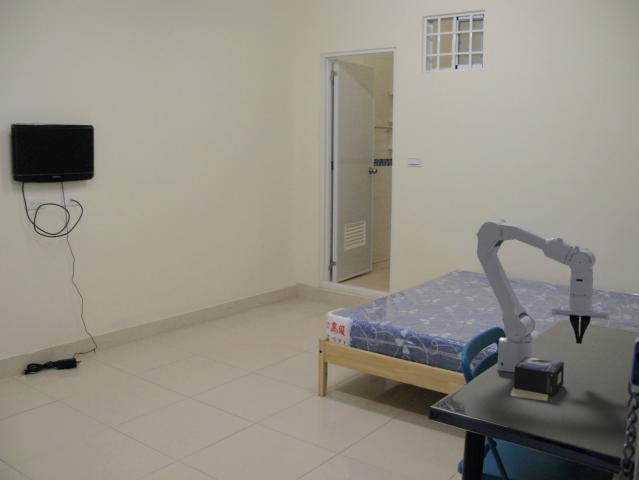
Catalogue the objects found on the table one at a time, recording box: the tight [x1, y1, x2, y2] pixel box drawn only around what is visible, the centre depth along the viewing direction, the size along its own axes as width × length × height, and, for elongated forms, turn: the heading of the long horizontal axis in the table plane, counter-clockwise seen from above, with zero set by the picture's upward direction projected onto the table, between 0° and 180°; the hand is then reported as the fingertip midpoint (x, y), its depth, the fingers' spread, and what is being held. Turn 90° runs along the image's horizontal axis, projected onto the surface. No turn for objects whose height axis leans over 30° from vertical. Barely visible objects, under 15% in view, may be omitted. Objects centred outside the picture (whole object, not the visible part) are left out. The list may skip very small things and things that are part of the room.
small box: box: [513, 357, 565, 396], centre depth 171 cm, size 11×6×10 cm
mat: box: [509, 386, 549, 402], centre depth 170 cm, size 9×14×1 cm, turn 157°
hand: (579, 342), depth 176 cm, fingers closed
